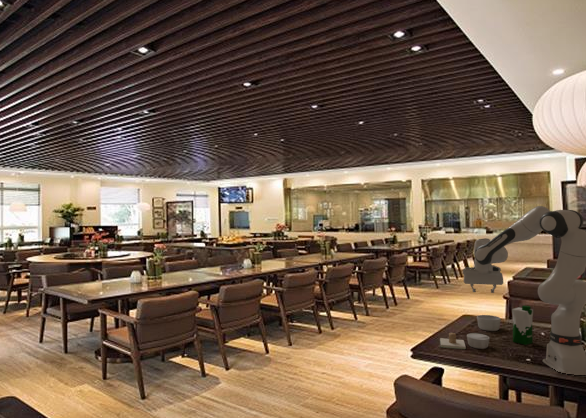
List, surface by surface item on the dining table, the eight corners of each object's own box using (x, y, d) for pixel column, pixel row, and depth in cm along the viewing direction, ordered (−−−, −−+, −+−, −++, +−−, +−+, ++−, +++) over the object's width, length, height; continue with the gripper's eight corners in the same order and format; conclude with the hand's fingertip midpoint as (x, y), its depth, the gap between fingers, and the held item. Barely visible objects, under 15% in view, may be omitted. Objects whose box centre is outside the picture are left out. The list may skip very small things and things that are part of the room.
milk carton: (527, 346, 222) (526, 308, 223) (510, 341, 230) (509, 305, 230) (535, 343, 227) (534, 306, 228) (518, 339, 235) (517, 303, 235)
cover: (465, 348, 218) (465, 337, 218) (441, 346, 221) (441, 336, 222) (463, 341, 229) (463, 331, 230) (440, 339, 233) (440, 330, 233)
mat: (465, 349, 217) (465, 348, 217) (441, 347, 221) (441, 346, 221) (463, 341, 230) (463, 341, 230) (439, 340, 233) (439, 339, 233)
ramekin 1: (472, 327, 259) (471, 316, 259) (486, 324, 265) (486, 313, 265) (490, 332, 247) (490, 321, 247) (505, 330, 253) (505, 318, 253)
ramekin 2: (485, 351, 215) (485, 340, 215) (463, 346, 222) (463, 336, 222) (492, 345, 223) (492, 335, 224) (470, 341, 231) (470, 332, 231)
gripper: (463, 267, 234) (464, 292, 234) (503, 268, 229) (504, 294, 229) (462, 266, 240) (462, 290, 240) (501, 267, 235) (501, 292, 235)
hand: (483, 292), depth 234 cm, fingers open, 8 cm apart
